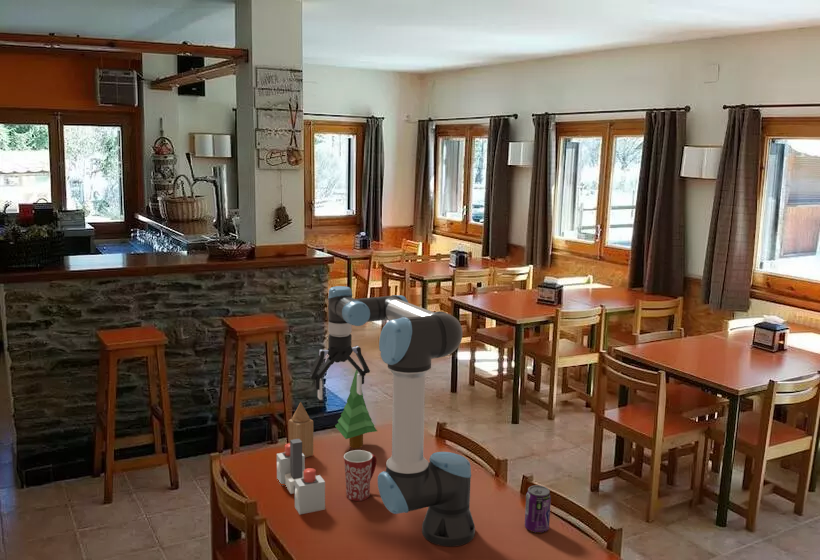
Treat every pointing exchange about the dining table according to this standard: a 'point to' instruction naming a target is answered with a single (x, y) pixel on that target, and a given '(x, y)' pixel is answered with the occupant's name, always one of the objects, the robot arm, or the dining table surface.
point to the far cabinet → (285, 466)
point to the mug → (359, 474)
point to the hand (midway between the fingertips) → (339, 396)
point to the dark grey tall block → (294, 465)
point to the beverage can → (537, 508)
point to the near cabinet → (309, 495)
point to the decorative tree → (355, 418)
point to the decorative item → (302, 430)
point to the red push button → (287, 449)
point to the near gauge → (309, 475)
